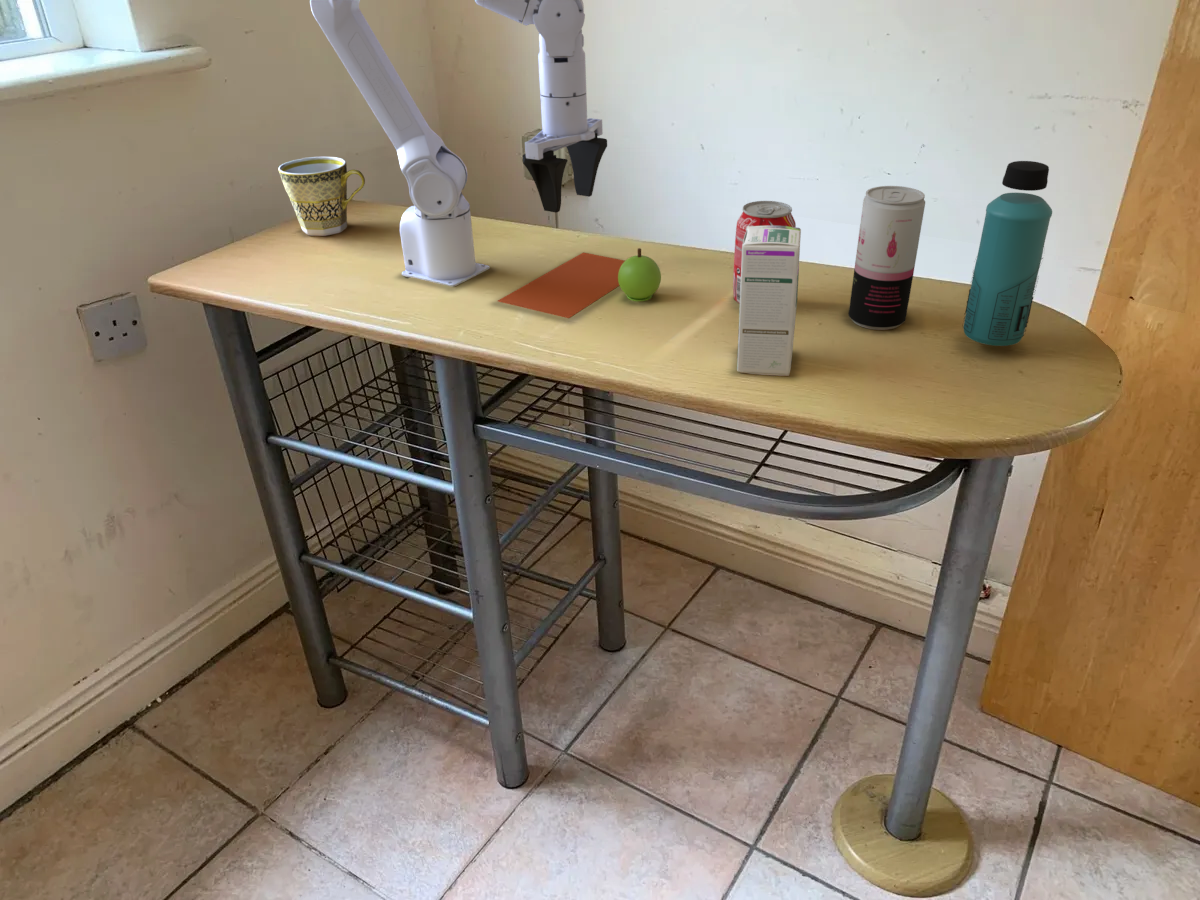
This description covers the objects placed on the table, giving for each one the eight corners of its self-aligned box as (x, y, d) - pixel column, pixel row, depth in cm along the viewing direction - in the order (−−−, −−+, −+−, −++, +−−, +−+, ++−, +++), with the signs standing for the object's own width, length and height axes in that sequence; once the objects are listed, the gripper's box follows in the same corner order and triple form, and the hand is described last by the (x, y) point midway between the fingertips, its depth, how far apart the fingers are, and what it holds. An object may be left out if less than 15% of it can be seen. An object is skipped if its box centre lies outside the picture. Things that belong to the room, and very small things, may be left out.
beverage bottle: (1014, 364, 96) (1060, 175, 85) (950, 351, 99) (987, 167, 88) (1026, 341, 100) (1071, 159, 90) (965, 329, 103) (1001, 152, 93)
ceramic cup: (280, 239, 137) (266, 173, 132) (309, 218, 145) (296, 155, 140) (360, 241, 135) (348, 174, 130) (384, 220, 143) (374, 157, 138)
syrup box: (790, 377, 95) (803, 244, 87) (734, 373, 96) (742, 242, 88) (791, 353, 99) (804, 225, 92) (738, 350, 100) (745, 223, 93)
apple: (610, 302, 113) (609, 251, 109) (632, 287, 117) (631, 238, 113) (647, 310, 110) (647, 259, 107) (668, 295, 114) (669, 245, 111)
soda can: (795, 296, 113) (804, 202, 106) (780, 318, 107) (789, 220, 101) (741, 289, 115) (747, 196, 109) (724, 309, 110) (729, 213, 103)
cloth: (497, 303, 113) (496, 300, 113) (583, 254, 128) (583, 252, 127) (568, 321, 108) (568, 318, 108) (650, 268, 122) (650, 265, 122)
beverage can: (909, 313, 107) (930, 188, 99) (900, 334, 102) (921, 205, 94) (854, 305, 110) (870, 183, 102) (842, 326, 105) (859, 199, 97)
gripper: (556, 107, 103) (562, 222, 110) (621, 85, 113) (623, 192, 121) (507, 102, 106) (516, 214, 114) (575, 81, 117) (579, 185, 124)
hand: (568, 202), depth 117 cm, fingers open, 7 cm apart
